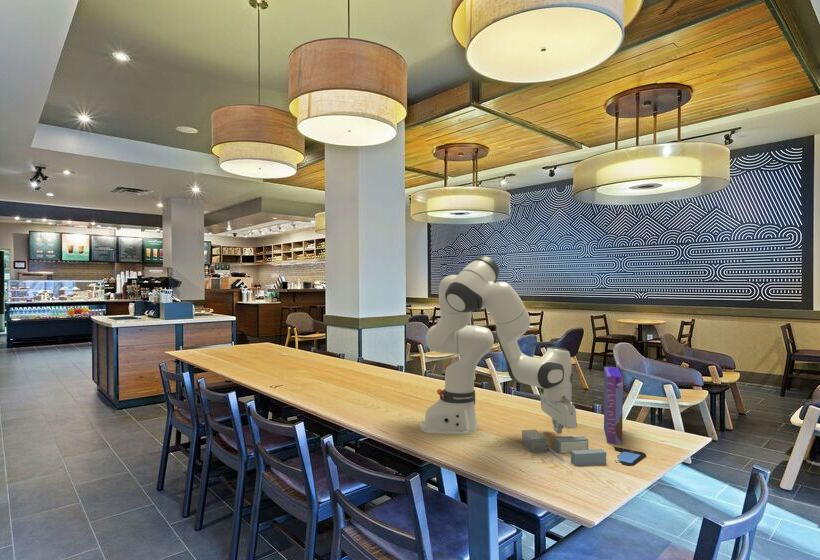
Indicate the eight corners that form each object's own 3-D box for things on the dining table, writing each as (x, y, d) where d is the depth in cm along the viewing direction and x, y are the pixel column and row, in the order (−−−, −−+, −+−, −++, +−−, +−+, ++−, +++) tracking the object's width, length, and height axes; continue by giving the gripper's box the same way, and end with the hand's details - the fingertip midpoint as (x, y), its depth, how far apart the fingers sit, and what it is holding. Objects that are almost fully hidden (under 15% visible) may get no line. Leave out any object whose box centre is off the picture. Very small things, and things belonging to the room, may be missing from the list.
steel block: (532, 457, 143) (532, 439, 143) (521, 447, 151) (521, 430, 151) (546, 456, 144) (546, 438, 144) (535, 446, 152) (535, 429, 152)
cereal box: (622, 446, 152) (622, 376, 151) (607, 444, 153) (607, 375, 153) (617, 429, 168) (617, 366, 168) (603, 428, 170) (604, 365, 169)
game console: (608, 448, 151) (608, 442, 151) (648, 460, 142) (648, 453, 142) (589, 461, 141) (589, 454, 141) (631, 474, 132) (631, 466, 132)
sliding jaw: (559, 456, 144) (559, 441, 143) (550, 447, 151) (550, 433, 150) (588, 454, 145) (588, 439, 145) (577, 446, 152) (577, 431, 152)
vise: (567, 471, 133) (567, 454, 133) (547, 452, 147) (547, 437, 147) (606, 468, 135) (606, 452, 135) (582, 450, 149) (582, 435, 149)
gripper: (581, 401, 146) (581, 443, 146) (553, 385, 166) (553, 422, 166) (563, 402, 145) (563, 444, 145) (537, 386, 165) (537, 422, 166)
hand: (557, 432), depth 156 cm, fingers closed
